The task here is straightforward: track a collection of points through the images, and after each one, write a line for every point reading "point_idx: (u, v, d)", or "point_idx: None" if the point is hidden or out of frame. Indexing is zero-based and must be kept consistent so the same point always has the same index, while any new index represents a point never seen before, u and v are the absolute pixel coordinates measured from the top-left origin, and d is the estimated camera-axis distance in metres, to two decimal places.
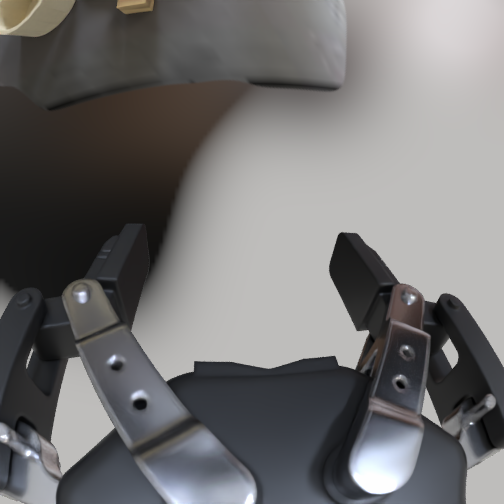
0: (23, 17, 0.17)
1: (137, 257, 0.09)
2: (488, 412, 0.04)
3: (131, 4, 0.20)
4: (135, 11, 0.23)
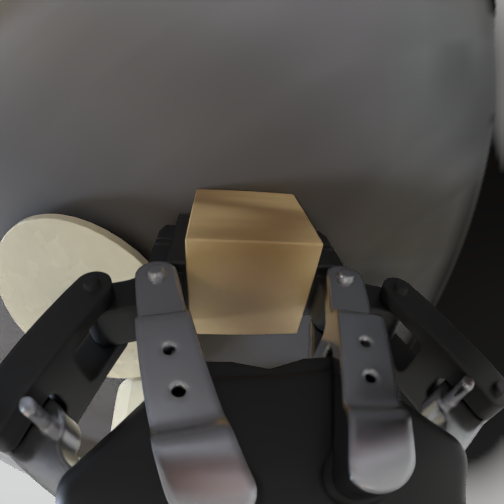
0: None
1: None
2: (468, 392, 0.05)
3: (306, 293, 0.09)
4: None
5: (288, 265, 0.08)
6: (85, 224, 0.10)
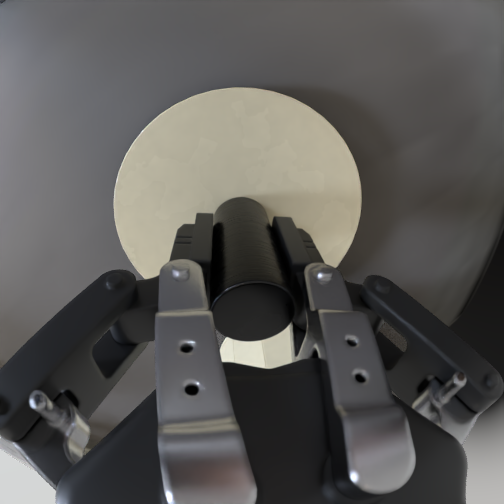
0: None
1: None
2: (461, 388, 0.05)
3: None
4: None
5: None
6: (304, 104, 0.10)
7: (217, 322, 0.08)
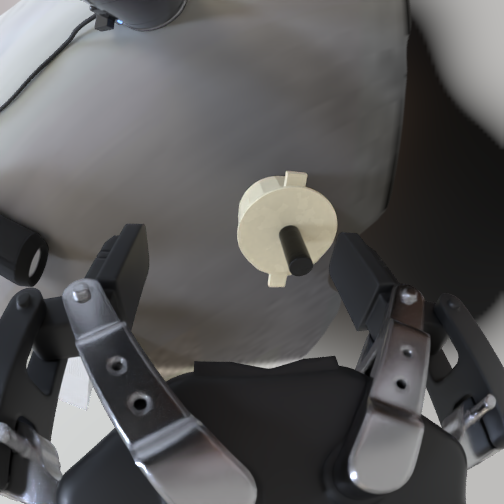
0: None
1: (137, 257, 0.09)
2: (488, 412, 0.04)
3: None
4: None
5: None
6: (322, 195, 0.30)
7: (290, 268, 0.28)
